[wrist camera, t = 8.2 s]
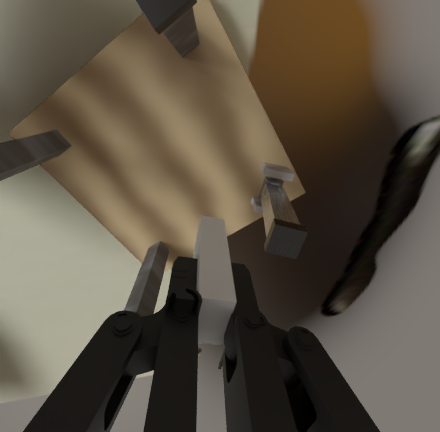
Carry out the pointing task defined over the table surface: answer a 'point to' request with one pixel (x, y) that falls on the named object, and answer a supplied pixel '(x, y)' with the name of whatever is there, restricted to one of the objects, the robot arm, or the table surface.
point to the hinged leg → (280, 220)
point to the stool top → (157, 138)
